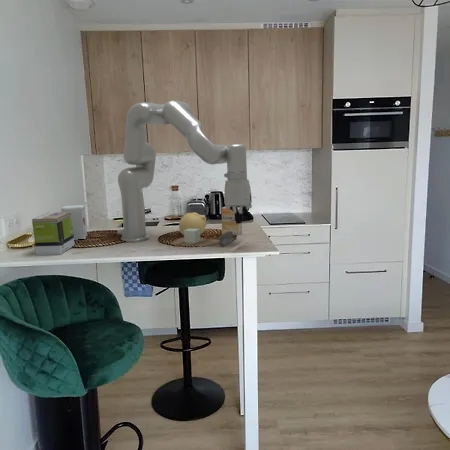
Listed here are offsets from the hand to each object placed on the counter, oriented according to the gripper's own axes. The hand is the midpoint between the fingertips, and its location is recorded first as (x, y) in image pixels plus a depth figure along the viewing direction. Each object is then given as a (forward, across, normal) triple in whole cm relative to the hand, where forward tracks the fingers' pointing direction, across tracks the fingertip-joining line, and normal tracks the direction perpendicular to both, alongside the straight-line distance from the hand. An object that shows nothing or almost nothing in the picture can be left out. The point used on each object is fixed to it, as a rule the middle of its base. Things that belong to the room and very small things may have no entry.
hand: (239, 223), depth 168 cm
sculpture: (+9, -28, +16) cm, 33 cm away
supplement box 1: (+8, -78, -2) cm, 78 cm away
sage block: (+8, -21, 0) cm, 22 cm away
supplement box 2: (+10, -10, +19) cm, 23 cm away
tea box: (+9, -71, -23) cm, 75 cm away
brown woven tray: (+9, -17, 0) cm, 19 cm away
